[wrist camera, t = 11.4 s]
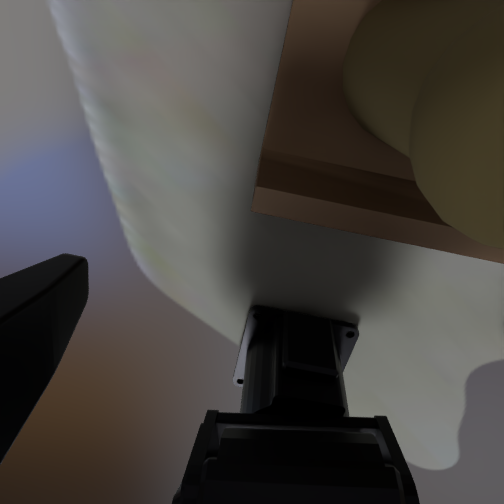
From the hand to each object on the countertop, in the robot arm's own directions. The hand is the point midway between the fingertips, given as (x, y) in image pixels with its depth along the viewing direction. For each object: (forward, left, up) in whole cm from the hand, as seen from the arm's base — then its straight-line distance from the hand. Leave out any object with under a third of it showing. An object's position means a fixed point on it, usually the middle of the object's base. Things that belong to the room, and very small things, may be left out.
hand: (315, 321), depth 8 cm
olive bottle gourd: (+4, -4, -12) cm, 13 cm away
